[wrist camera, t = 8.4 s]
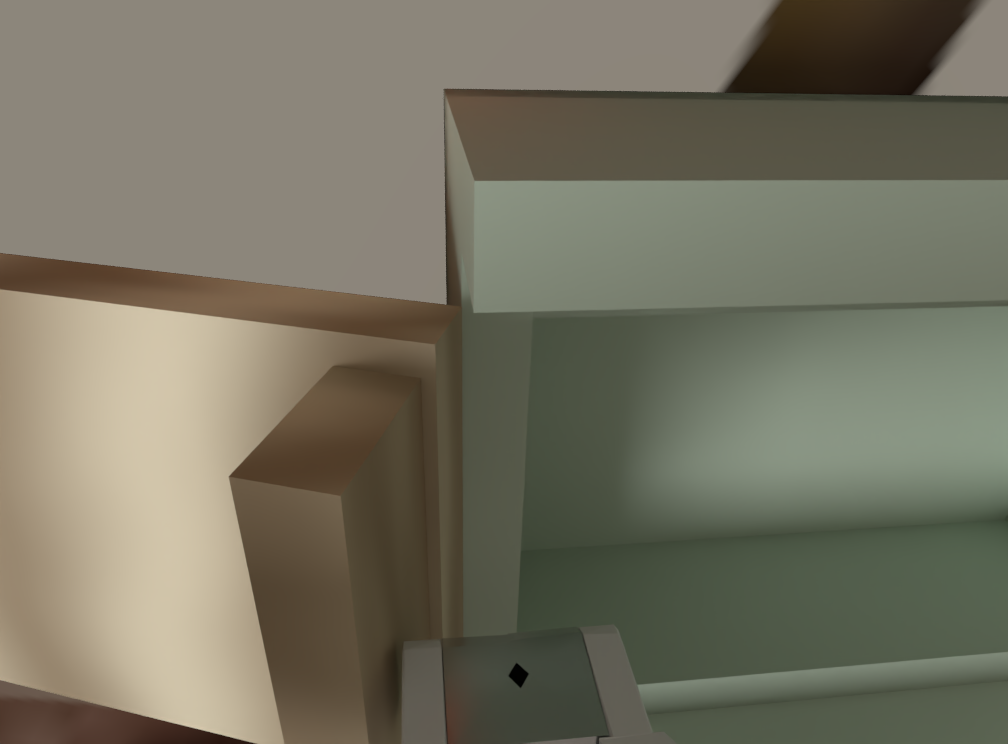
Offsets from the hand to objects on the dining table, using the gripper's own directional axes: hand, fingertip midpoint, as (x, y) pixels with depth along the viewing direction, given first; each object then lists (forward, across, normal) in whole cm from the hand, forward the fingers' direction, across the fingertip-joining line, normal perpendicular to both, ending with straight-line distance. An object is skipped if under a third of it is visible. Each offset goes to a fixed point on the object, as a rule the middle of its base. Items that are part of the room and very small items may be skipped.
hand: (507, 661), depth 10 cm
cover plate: (+5, +8, 0) cm, 9 cm away
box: (+7, -8, 0) cm, 11 cm away
